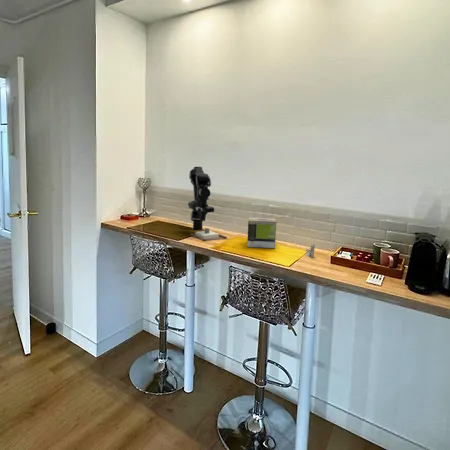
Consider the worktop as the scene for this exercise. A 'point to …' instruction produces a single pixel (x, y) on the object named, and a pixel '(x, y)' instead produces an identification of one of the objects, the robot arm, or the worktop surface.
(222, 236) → the brown flat slab
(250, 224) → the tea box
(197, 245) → the worktop surface
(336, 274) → the worktop surface
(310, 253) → the architectural model
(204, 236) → the cover plate
